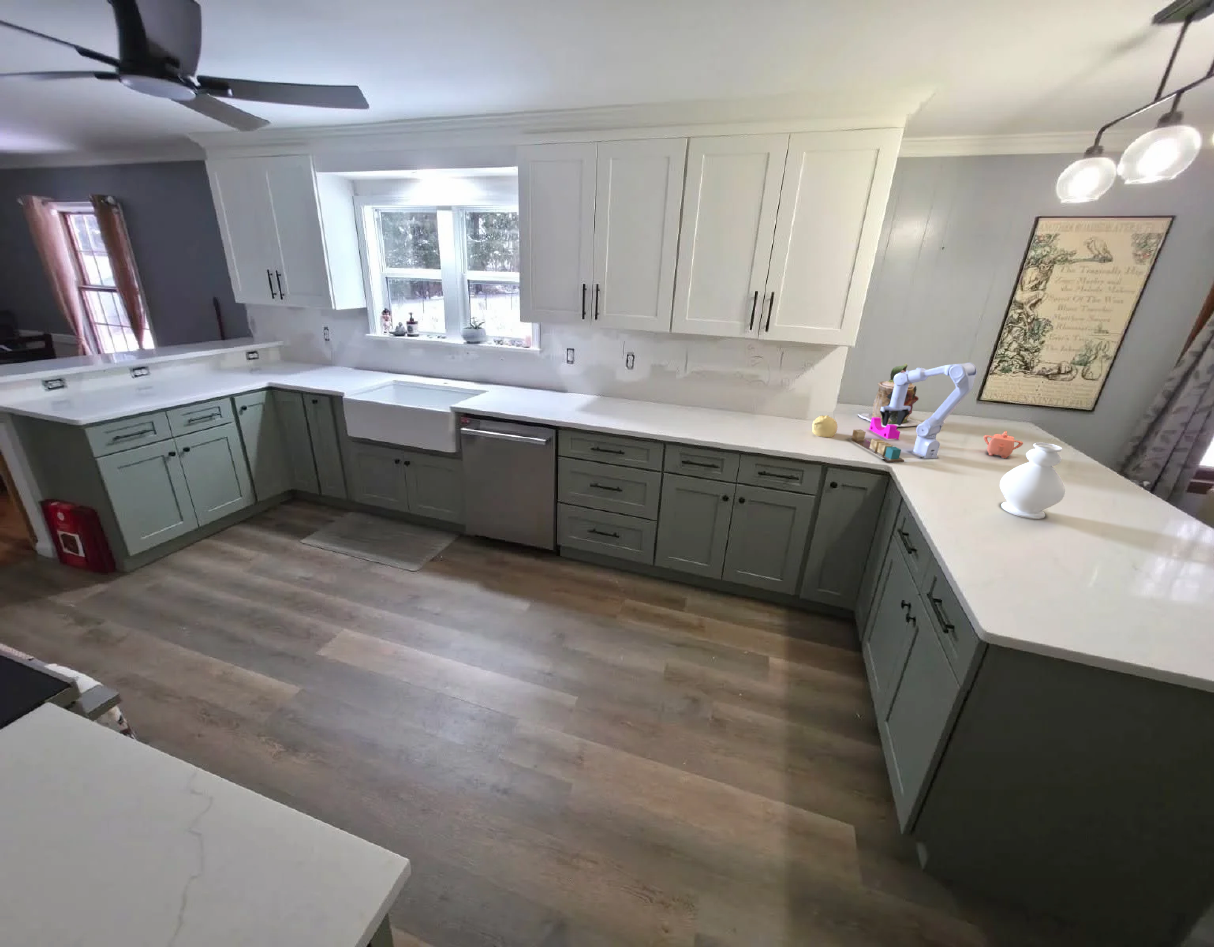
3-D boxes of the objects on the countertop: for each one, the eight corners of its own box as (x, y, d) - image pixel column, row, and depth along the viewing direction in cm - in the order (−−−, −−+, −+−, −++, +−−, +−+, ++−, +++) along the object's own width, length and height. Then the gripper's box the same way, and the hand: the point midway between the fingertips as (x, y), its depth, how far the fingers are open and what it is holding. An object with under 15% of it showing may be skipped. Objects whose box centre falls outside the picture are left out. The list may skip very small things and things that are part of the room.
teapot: (1022, 460, 225) (1030, 439, 221) (996, 460, 225) (1003, 439, 221) (999, 449, 238) (1006, 429, 234) (974, 449, 238) (981, 429, 234)
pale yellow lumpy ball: (812, 431, 260) (816, 411, 256) (836, 435, 255) (841, 414, 250) (808, 437, 251) (812, 416, 247) (833, 441, 246) (837, 420, 241)
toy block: (898, 440, 249) (901, 425, 246) (886, 440, 248) (890, 426, 245) (879, 430, 262) (883, 417, 259) (868, 431, 262) (871, 417, 259)
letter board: (903, 461, 222) (907, 450, 219) (887, 462, 220) (890, 451, 218) (860, 438, 250) (863, 428, 247) (846, 439, 248) (848, 429, 246)
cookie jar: (855, 416, 285) (867, 360, 273) (889, 413, 292) (902, 358, 279) (889, 429, 264) (904, 369, 251) (925, 426, 271) (941, 367, 258)
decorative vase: (1044, 527, 168) (1073, 459, 158) (984, 507, 181) (1007, 443, 171) (1061, 513, 177) (1089, 448, 167) (1002, 495, 191) (1025, 434, 181)
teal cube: (898, 459, 222) (901, 449, 220) (890, 459, 221) (893, 450, 219) (892, 455, 225) (895, 446, 224) (884, 456, 225) (887, 446, 223)
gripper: (906, 395, 240) (899, 422, 245) (879, 396, 238) (872, 423, 243) (916, 398, 233) (909, 426, 239) (888, 399, 231) (882, 427, 237)
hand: (891, 425), depth 240 cm, fingers open, 7 cm apart
